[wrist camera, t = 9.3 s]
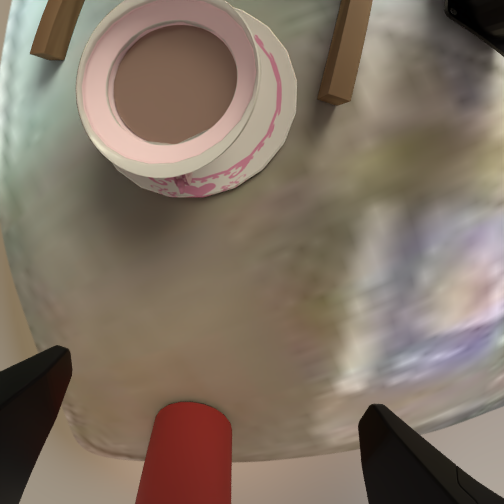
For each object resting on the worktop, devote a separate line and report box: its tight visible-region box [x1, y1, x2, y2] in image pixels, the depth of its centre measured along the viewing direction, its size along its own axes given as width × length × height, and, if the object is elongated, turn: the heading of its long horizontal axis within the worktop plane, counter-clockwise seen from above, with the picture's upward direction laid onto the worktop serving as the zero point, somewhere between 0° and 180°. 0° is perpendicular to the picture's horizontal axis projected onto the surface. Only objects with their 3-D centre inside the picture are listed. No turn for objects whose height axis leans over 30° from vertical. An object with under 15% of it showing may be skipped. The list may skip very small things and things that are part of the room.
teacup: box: [76, 0, 297, 197], centre depth 14 cm, size 12×12×6 cm
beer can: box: [135, 402, 232, 504], centre depth 19 cm, size 7×7×12 cm
